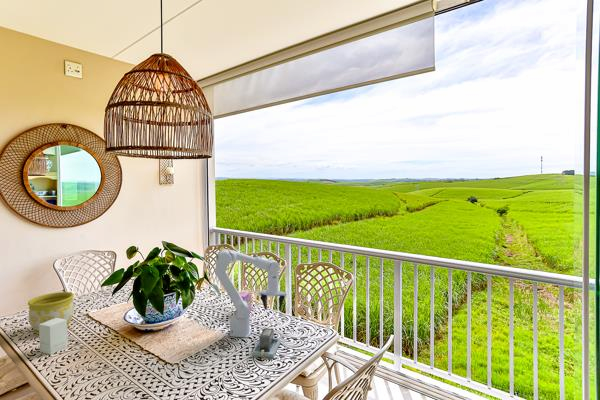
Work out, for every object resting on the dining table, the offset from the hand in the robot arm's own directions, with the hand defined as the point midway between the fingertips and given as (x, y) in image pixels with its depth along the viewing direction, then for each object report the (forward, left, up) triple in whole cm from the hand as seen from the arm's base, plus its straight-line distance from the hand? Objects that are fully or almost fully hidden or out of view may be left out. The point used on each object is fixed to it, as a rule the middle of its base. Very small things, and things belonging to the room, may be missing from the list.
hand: (272, 309), depth 152 cm
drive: (+2, -19, -10) cm, 21 cm away
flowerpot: (-112, -19, -11) cm, 114 cm away
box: (-22, +17, -11) cm, 30 cm away
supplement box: (-93, -35, -11) cm, 100 cm away
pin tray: (+2, -19, -10) cm, 22 cm away
